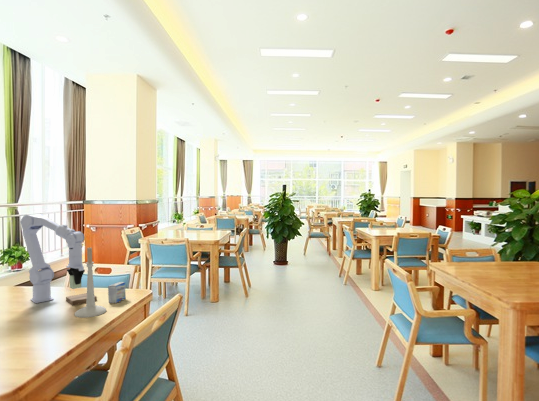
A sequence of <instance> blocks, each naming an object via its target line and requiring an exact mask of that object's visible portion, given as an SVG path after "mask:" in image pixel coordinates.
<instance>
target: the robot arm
mask: <svg viewBox="0 0 539 401" xmlns="http://www.w3.org/2000/svg"><path fill="white" fill-rule="evenodd" d="M19 223H20V225H21V229H22V235H23V236H22V237H23V240H24V242H25V245H26V249H27V252H28V255H29V259H30V262H31V265H32V266H31V268H30V269H28V272H29V281H30V283H31V284H32V285H33V286H32V298H30V300H31V301H32V302H33V303H35V304H38V303H43V302H49V301H53V300H54V298H53V297H52V295H51V293H52V292H51V283H52V279H53V278H54V276H55V272H54V270H53V268H51V265H50V264H49V263H47V262H46V261H45V257H44V255H43V251H42V248H41V245H40V241H39V238H38V236H37V233H38V232H39V231H40V230H41V229H42V228H43V227H45V228H47V229H49V230H50V231H51V230H52V231H54V233H55V235H56V236H58V237H60V238H62V239H64V240H65V241H66V244H67V247H68V263H67V265H66V266H65V267H66V268H67V269H66V271H67V273H68V275H69V276H70V275H73V276H74V281H75V284H76V285H77V284H80V283H81V284H82V279H83V278H82V277H83V275H84V273H85V271H86V270H85V269H84V268H85V267H84V266H83V242H84V240H85V234H84V233H83V232H82V231H81V230H79V231H77V230H75V229H74V228H73V229H72V228H70V227H69V226H68V225H67V224H58V223H57V222H55V221H54V220H52V219H50V218H49V217H48V216H47V215H45V214H43V213H37V214H24V215H23V216H22V218H21V220H20V221H19Z"/></svg>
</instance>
